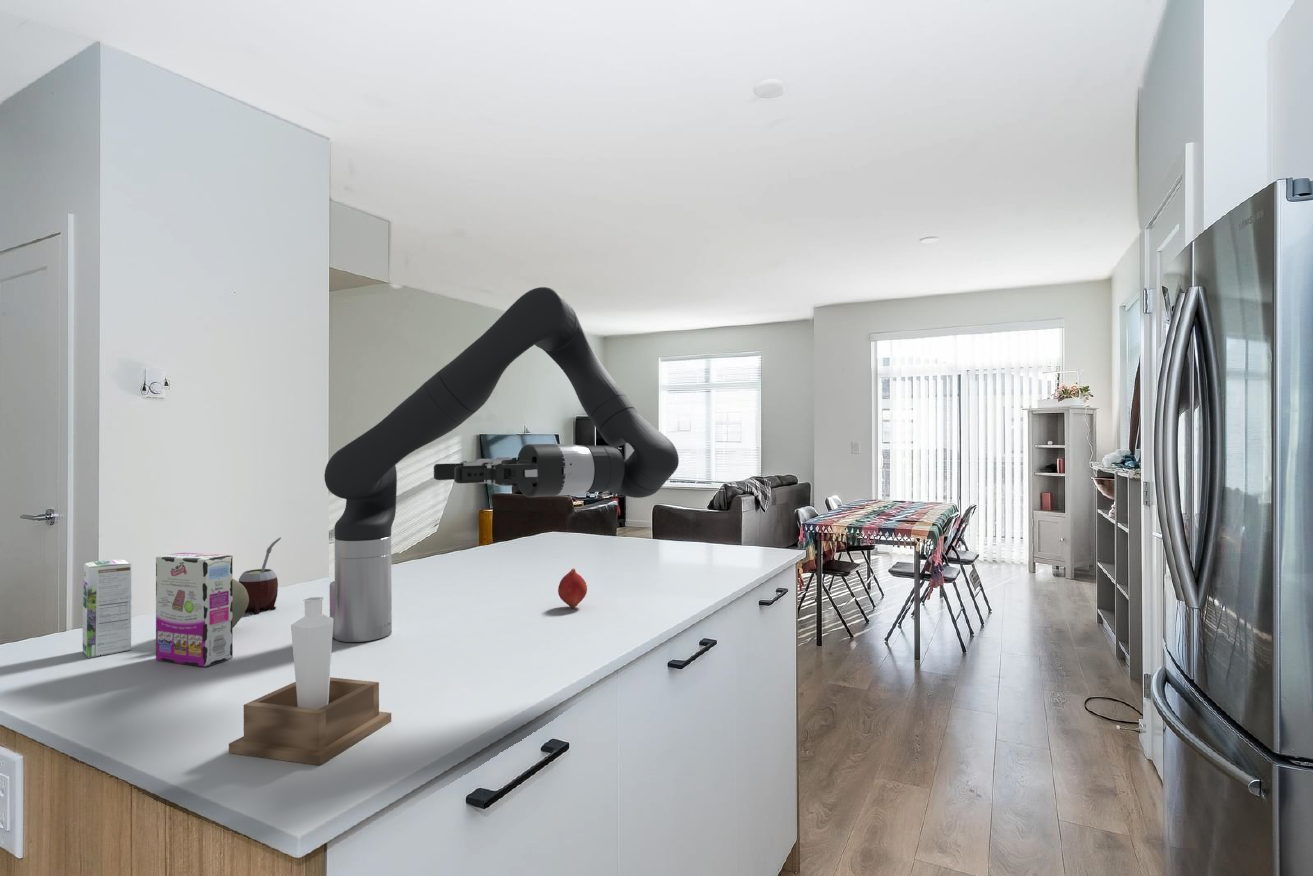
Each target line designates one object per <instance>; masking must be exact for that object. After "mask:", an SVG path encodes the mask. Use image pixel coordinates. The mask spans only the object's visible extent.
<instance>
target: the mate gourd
mask: <svg viewBox="0 0 1313 876" xmlns="http://www.w3.org/2000/svg"><path fill="white" fill-rule="evenodd" d="M281 539H282V537H278V538H277V539H275V541H273V542H272V543H271V544H270V545H269V547H267V549H266V552H265V553H266V554H265V556H264V557H265V558H264V560H263V563H262V567H261V568H258V569H250V570H245V571H243V572H242V573H241V574H240V576H239V578H238V582H240V583H241V584H242V585H243V586H244V587H245V589H246V590H247V593H248V596H249V603H248V606H247V609H246V610H245V612H244V614H245V613H254V615H259V614H260V613H261V612H264V611H275V610H276V608H277V607H276V605H275V604H276V601H277V598H278V593H279V592H278V591H279V590H278V589H279V587H278V586H279V581H278V576H277V573H276V572H275V571H274V570H273V569H272V568H271V569H270V568H266V566H267V563H268V560H269V557H270V554H271V553H272V550H273V547H274V546H275V545H276V544H277V543H278V542H279V541H280V540H281Z"/></svg>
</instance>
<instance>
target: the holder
mask: <svg viewBox="0 0 1313 876" xmlns="http://www.w3.org/2000/svg"><path fill="white" fill-rule="evenodd" d="M391 722H392V712H387V711H380V681H370V680H363V679H362V680H361V679H350V678H340V677H331V676H330V683H329V700H328V704H327V705H325V706H324V707H322V708H320V709H311V708H302V707H298V703H297V691H296V681H293V682H292V683H290V684H288V685H284V686H283V687H280V688H278V689H276V690H274V691H272V692H270V693H267V694H264V695H262V696H261V697H258V698H256V699H254V700H251V701H249V702H247V703H243V736H241V737H239V738H236V739H235V740H233V741H231V742H229V743H228V753H230V754H234V755H235V754H236V755H243V756H251V757H257V758H265V759H270V760H271V759H272V760H279V761H287V762H293V763H299V764H307V765H315V766H322V765H324V764H325V763H327V762H328V761H330V760H332V759H333V758H335V757H336V756H338V755H340V754H341V753H343V752H344V751H346V750H348V749H349V748H351V747H352V746H354V745H355V744H357V743H359V742H360V741H362V740H363V739H365V738H367V737H368V736H370V735H372V734H373V733H375V732H376V731H378V730H380V729H381V728H383V727H384V726H386V725H387V724H389V723H391Z"/></svg>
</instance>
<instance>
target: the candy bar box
mask: <svg viewBox="0 0 1313 876" xmlns="http://www.w3.org/2000/svg"><path fill="white" fill-rule="evenodd" d="M233 576H234V575H233V555H230V554H229V555H228V554H216V553H215V554H213V553H198V552H197V553H196V552H195V553H194V552H179V553H178V552H177V553H171V554H164V555H158V556H156V557H155V660H156V661H159V662H160V661H161V662H167V663H175V664H180V665H187V666H195V667H203V668H205V667H207V668H208V667H209V666H213V665H216V664H219V663H223V662H226V661H229V660H232V659H233V653H234V652H233V650H234V649H233V628H232V615H233V613H232V600H233V594H232V590H233V588H232V578H234V577H233Z"/></svg>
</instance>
